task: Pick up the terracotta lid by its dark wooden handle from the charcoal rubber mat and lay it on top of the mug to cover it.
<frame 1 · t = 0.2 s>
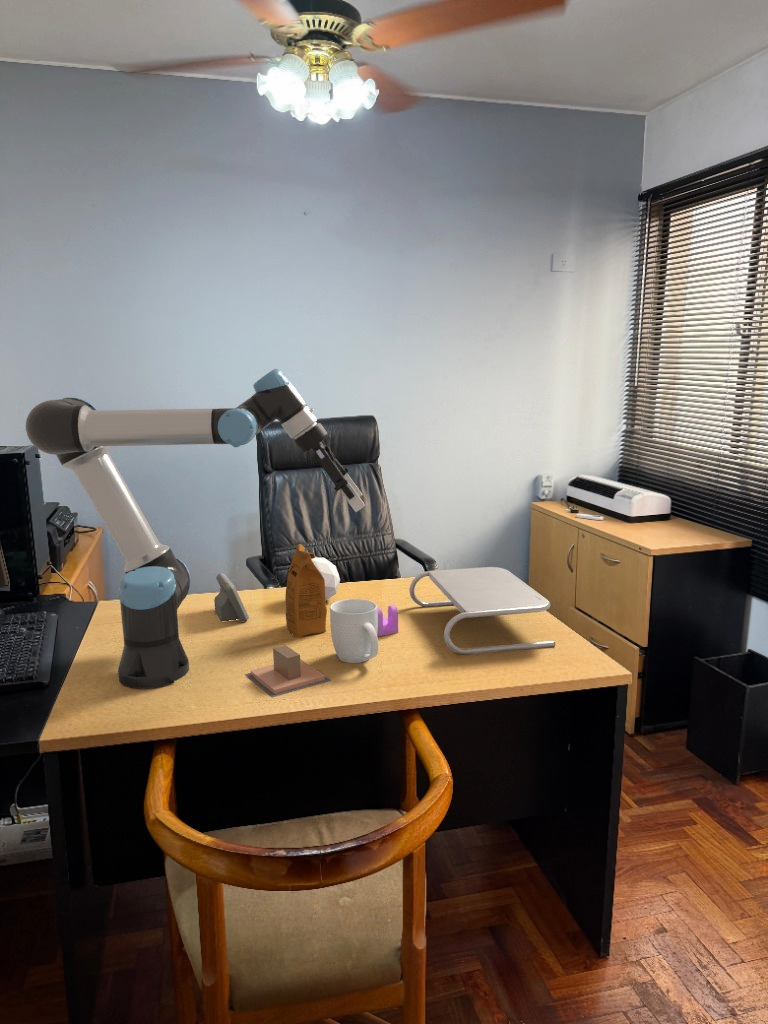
hand: (359, 503, 171), 35 cm above the table, tool tilted 35°, fingers open, 13 cm apart
monitor stand: (476, 627, 190), on the table
digital clock: (233, 616, 200), on the table
coffee package: (306, 630, 188), on the table
mat: (287, 679, 158), on the table
mug: (357, 661, 168), on the table
geodesic sphere: (317, 601, 211), on the table
lid: (287, 677, 158), point 1 cm above the table, touching mat
bracket: (379, 627, 190), on the table
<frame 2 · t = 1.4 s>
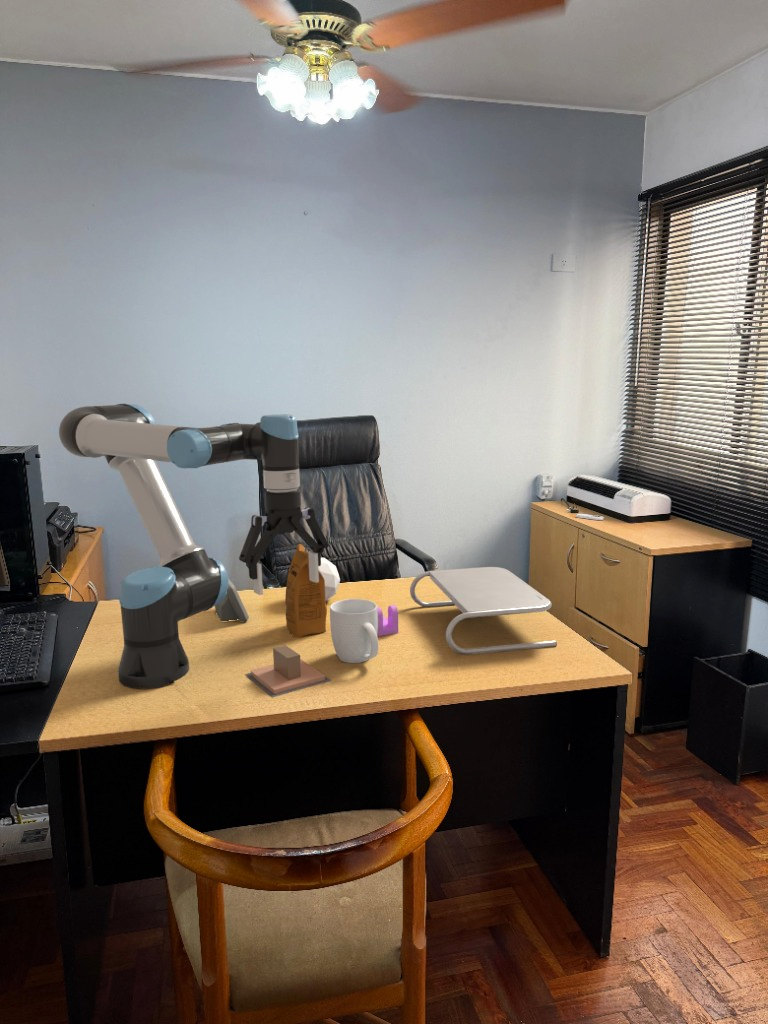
hand: (286, 587, 154), 21 cm above the table, tool pointing down, fingers open, 13 cm apart
nothing on the table moved.
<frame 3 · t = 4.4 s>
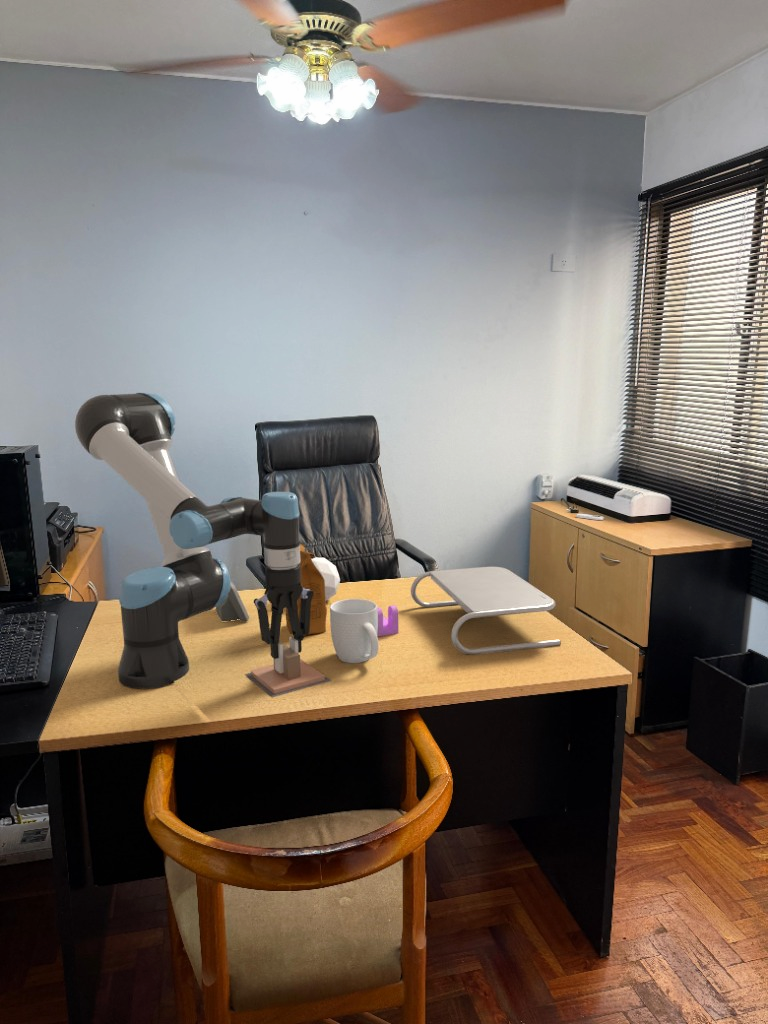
hand: (287, 668, 157), 3 cm above the table, tool pointing down, fingers closed on lid, 3 cm apart
lid: (287, 677, 158), point 1 cm above the table, touching gripper, mat
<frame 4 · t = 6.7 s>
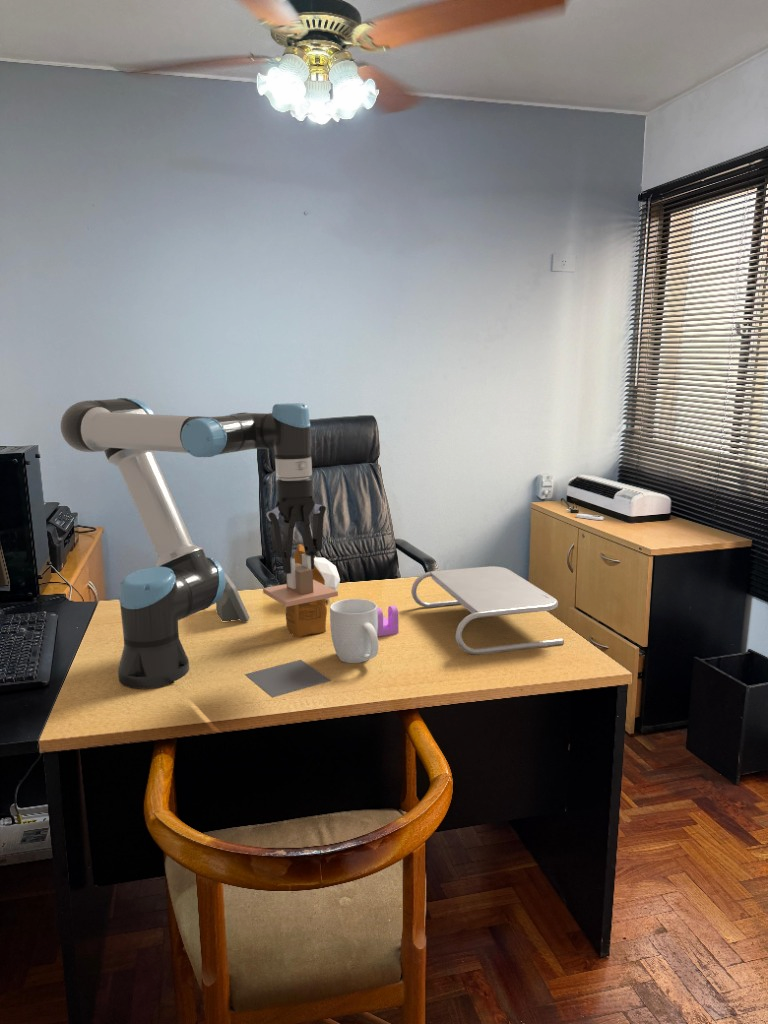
hand: (299, 585, 155), 21 cm above the table, tool pointing down, fingers closed on lid, 3 cm apart
lid: (300, 594, 155), point 19 cm above the table, touching gripper
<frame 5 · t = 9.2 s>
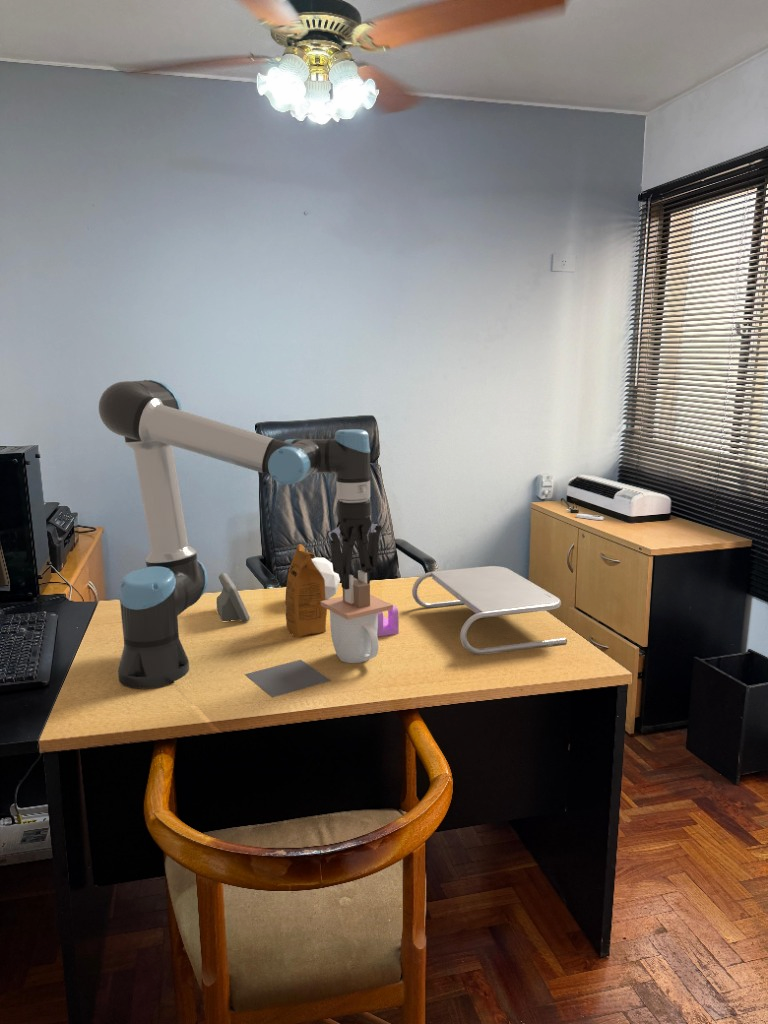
hand: (356, 600, 165), 15 cm above the table, tool pointing down, fingers closed on lid, 3 cm apart
mug: (357, 661, 168), on the table, touching lid
lid: (356, 607, 165), point 13 cm above the table, touching gripper, mug
when the fingers open (15 cm above the table, at t = 9.8 s): lid stays where it is, resting on mug.
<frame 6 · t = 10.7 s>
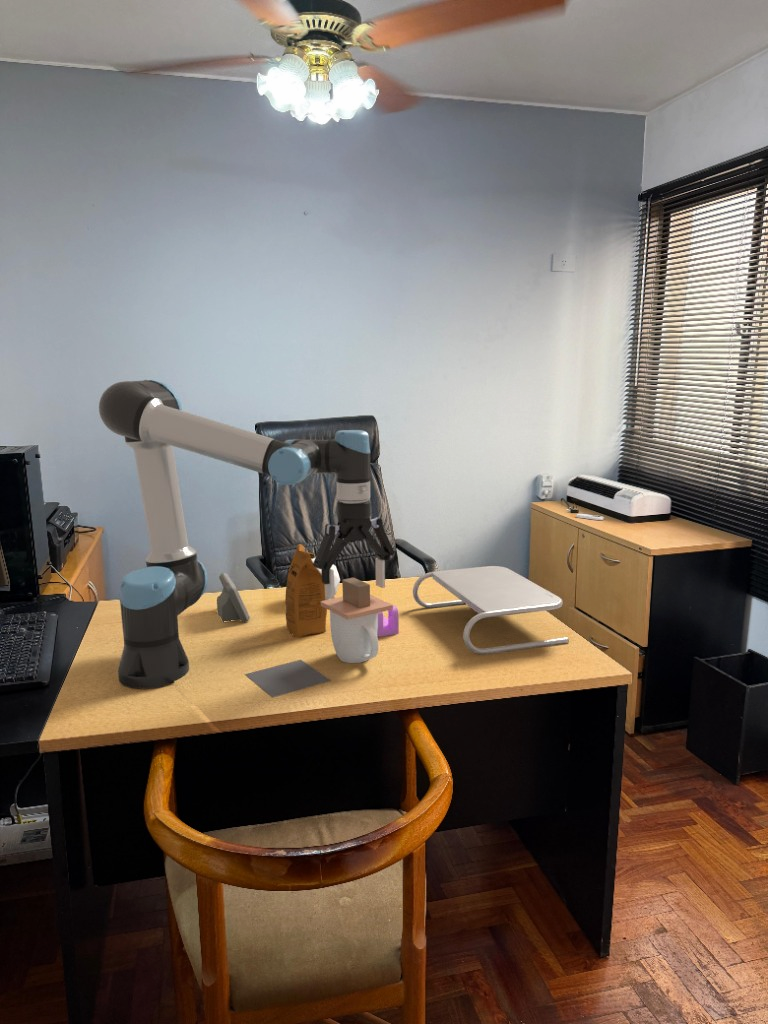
hand: (355, 591, 164), 17 cm above the table, tool pointing down, fingers open, 13 cm apart
lid: (356, 607, 165), point 13 cm above the table, touching mug
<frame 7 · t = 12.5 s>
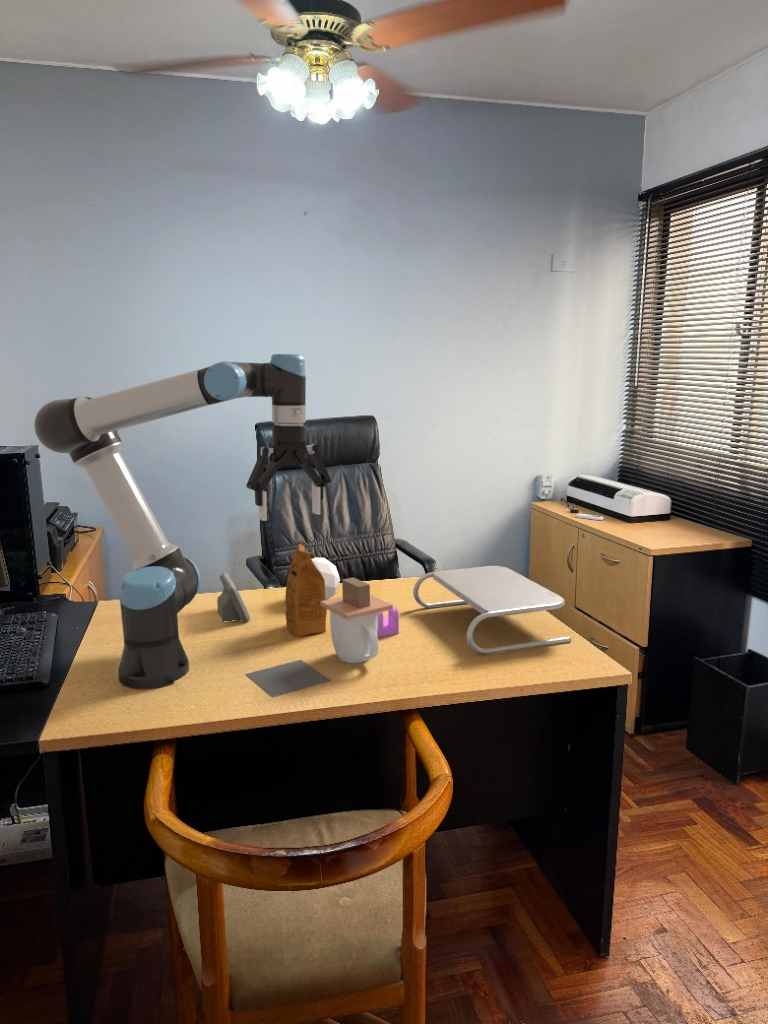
hand: (290, 516, 166), 33 cm above the table, tool pointing down, fingers open, 13 cm apart
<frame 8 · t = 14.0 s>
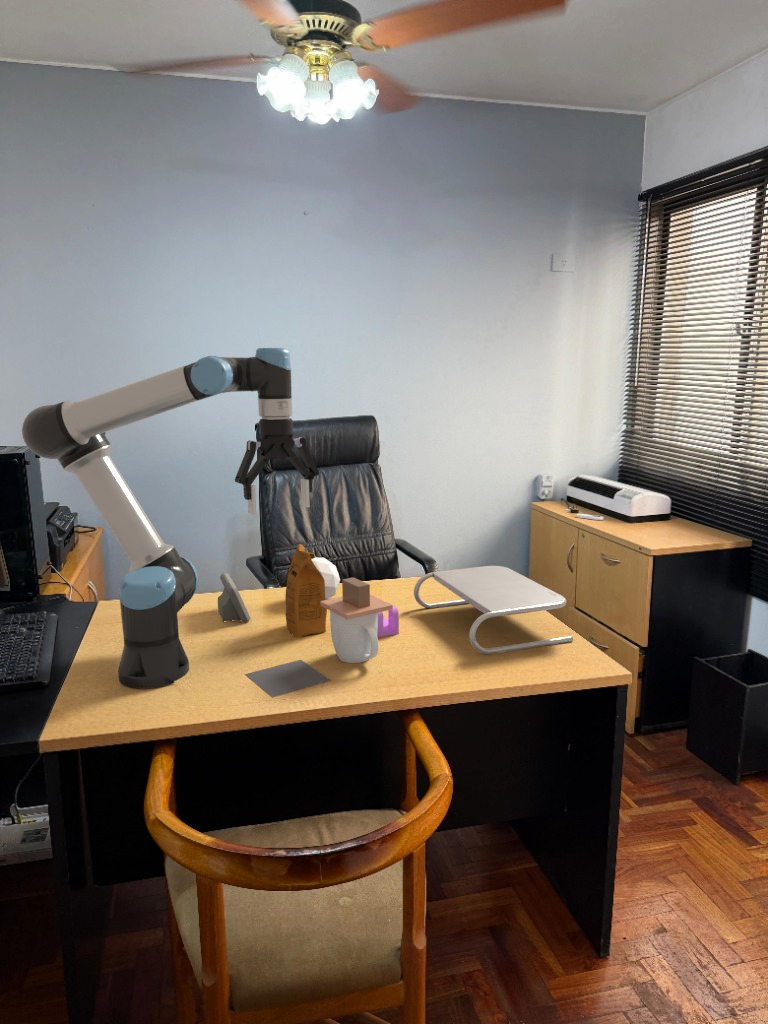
hand: (279, 510, 167), 35 cm above the table, tool pointing down, fingers open, 13 cm apart
at the end: lid inside the target area in the mug (0.0 cm from its centre), point 13.2 cm above the mug's base; mug tilted 0°; the gripper is holding nothing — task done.
